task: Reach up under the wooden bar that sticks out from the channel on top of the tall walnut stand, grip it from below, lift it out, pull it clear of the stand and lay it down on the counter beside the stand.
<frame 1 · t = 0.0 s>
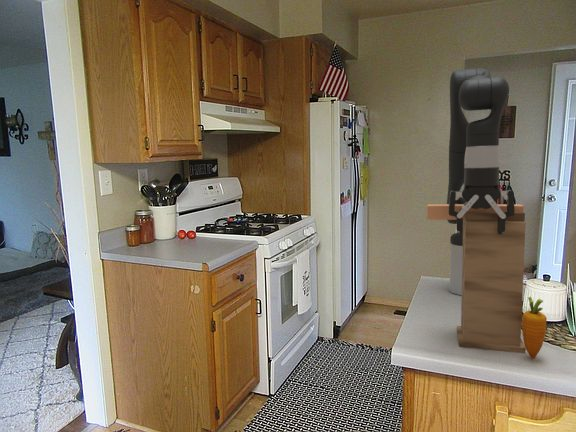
hand: (479, 233, 103), 29 cm above the table, tool pointing down, fingers open, 8 cm apart
bar: (472, 218, 108), point 32 cm above the table, touching stand
carrot: (532, 359, 101), on the table
stand: (488, 340, 111), on the table
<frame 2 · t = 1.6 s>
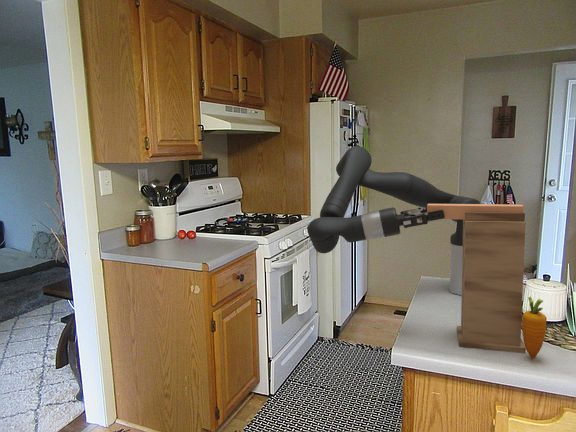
hand: (441, 211, 113), 33 cm above the table, tool horizontal, fingers open, 8 cm apart
bar: (473, 218, 109), point 32 cm above the table, touching gripper, stand
everything else where it was.
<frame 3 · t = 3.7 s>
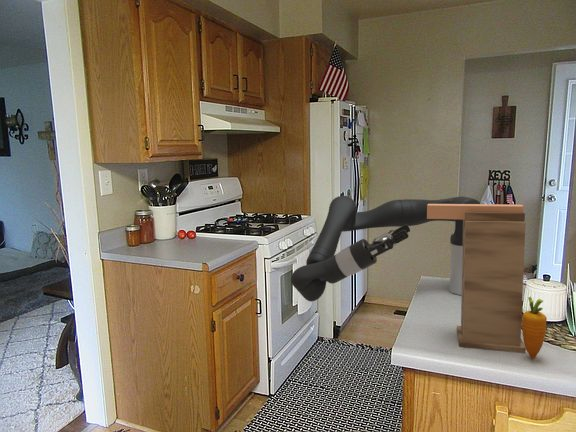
hand: (407, 230, 114), 29 cm above the table, tool pointing upward, fingers open, 8 cm apart
bar: (472, 218, 109), point 32 cm above the table, touching stand
everything else where it was.
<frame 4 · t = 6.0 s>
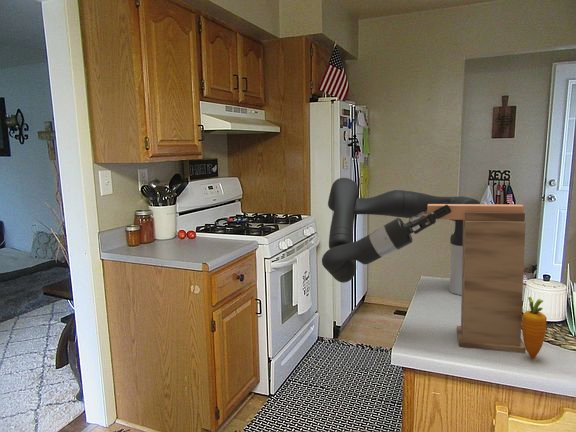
hand: (449, 206, 110), 35 cm above the table, tool pointing upward, fingers open, 4 cm apart
bar: (473, 218, 108), point 32 cm above the table, touching gripper, stand
everything else where it was.
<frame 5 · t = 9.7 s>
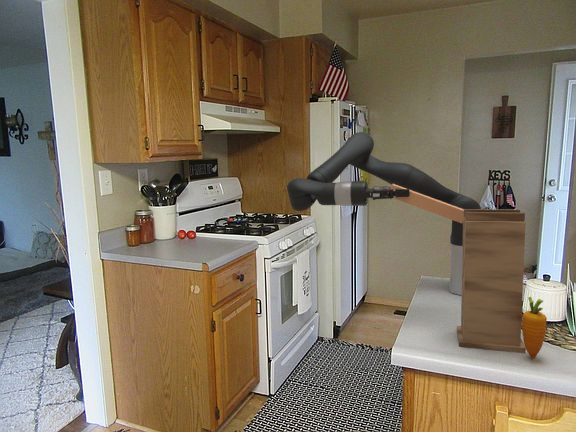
hand: (409, 192, 126), 38 cm above the table, tool horizontal, fingers closed on bar, 3 cm apart
bar: (424, 208, 125), point 33 cm above the table, tilted 21°, touching gripper
everything else where it was.
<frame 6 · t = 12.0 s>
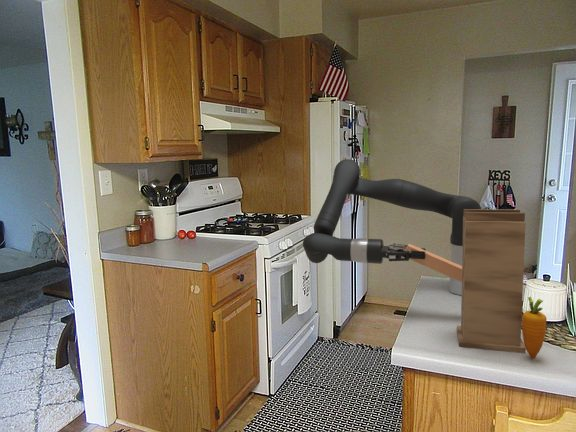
hand: (425, 253, 127), 19 cm above the table, tool horizontal, fingers closed on bar, 3 cm apart
bar: (439, 270, 126), point 14 cm above the table, tilted 23°, touching gripper
everything else where it was.
when the fingers open (7 cm above the table, at t = 14.0 s): bar drops 3 cm, on the table.
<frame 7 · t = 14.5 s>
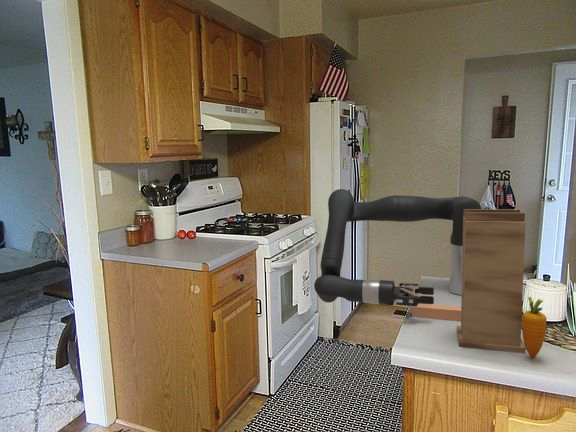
hand: (433, 295, 128), 7 cm above the table, tool horizontal, fingers open, 8 cm apart
bar: (450, 319, 127), on the table
everything else where it was.
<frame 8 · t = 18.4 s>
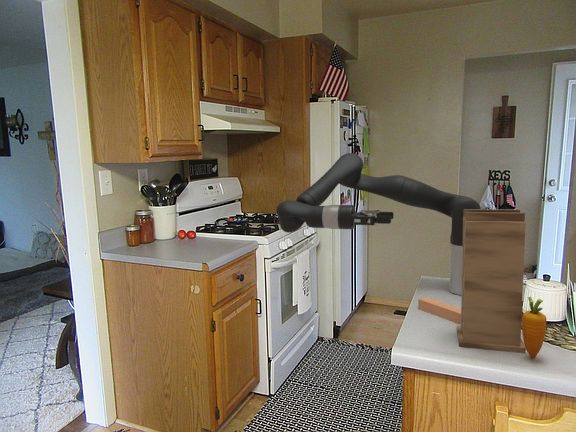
hand: (392, 217, 128), 30 cm above the table, tool horizontal, fingers open, 8 cm apart
at the end: bar inside the target area (1.5 cm from its centre), on the table; bar moved 35.5 cm from its start; the gripper is holding nothing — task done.
